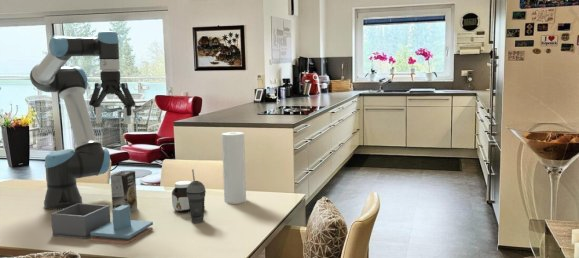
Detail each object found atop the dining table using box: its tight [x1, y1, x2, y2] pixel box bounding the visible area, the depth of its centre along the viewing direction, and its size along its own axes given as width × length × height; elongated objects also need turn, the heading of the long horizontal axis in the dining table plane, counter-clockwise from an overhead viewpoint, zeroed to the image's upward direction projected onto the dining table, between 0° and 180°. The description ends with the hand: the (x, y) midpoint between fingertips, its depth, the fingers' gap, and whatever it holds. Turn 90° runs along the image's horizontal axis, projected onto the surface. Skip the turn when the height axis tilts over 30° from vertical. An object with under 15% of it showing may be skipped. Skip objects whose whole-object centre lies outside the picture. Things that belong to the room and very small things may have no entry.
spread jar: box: [171, 180, 206, 214], centre depth 210 cm, size 12×11×12 cm
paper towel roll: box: [221, 131, 247, 205], centre depth 221 cm, size 9×9×30 cm
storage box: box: [50, 203, 112, 240], centre depth 187 cm, size 14×14×8 cm
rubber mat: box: [91, 226, 153, 245], centre depth 182 cm, size 14×16×1 cm
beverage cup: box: [186, 169, 207, 224], centre depth 194 cm, size 7×7×20 cm
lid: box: [90, 205, 154, 240], centre depth 182 cm, size 15×15×9 cm
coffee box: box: [110, 170, 138, 213], centre depth 210 cm, size 9×6×16 cm
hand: (113, 123), depth 209 cm, fingers open, 13 cm apart
